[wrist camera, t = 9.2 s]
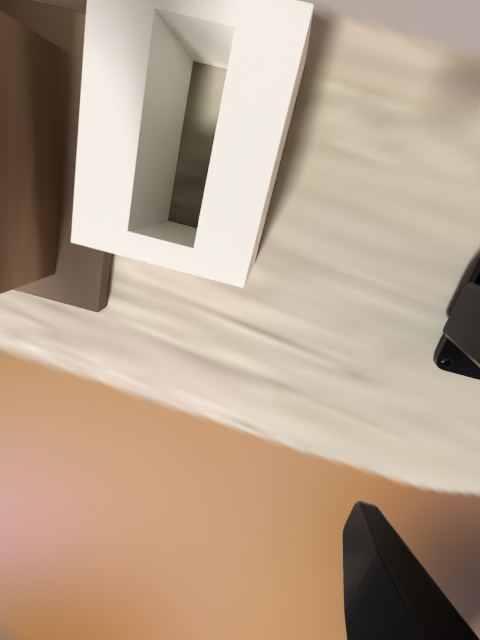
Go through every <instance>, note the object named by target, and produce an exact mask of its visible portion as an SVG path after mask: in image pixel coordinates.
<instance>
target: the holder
mask: <svg viewBox="0 0 480 640" xmlns="http://www.w3.org/2000/svg"><path fill="white" fill-rule="evenodd" d="M313 9H314V4H312V3H308V2H304V1H299V0H87V4H86V19H85V34H84V49H83V65H82V80H81V95H80V110H79V125H78V140H77V155H76V170H75V185H74V200H73V215H72V230H71V243H75V244H78V245H82V246H86V247H90V248H94V249H97V250H101V251H105V252H109V253H113V254H116V255H120V256H124V257H128V258H132V259H135V260H139V261H143V262H147V263H151V264H154V265H158V266H162V267H166V268H169V269H173V270H177V271H181V272H185V273H188V274H192V275H196V276H200V277H204V278H207V279H211V280H215V281H219V282H223V283H226V284H230V285H234V286H238V287H242V288H244V286H245V284H246V282H247V279H248V277H249V275H250V273H251V270H252V268H253V266H254V264H255V260H256V256H257V252H258V248H259V244H260V240H261V236H262V232H263V228H264V224H265V220H266V216H267V212H268V208H269V204H270V200H271V197H272V193H273V189H274V185H275V181H276V177H277V173H278V169H279V165H280V161H281V157H282V153H283V149H284V145H285V141H286V137H287V133H288V129H289V126H290V122H291V118H292V114H293V110H294V106H295V102H296V98H297V94H298V90H299V86H300V82H301V78H302V74H303V70H304V66H305V62H306V57H307V50H308V43H309V36H310V30H311V23H312V16H313ZM193 61H195V62H199V63H203V64H207V65H211V66H216V67H220V68H224V69H227V73H226V78H225V84H224V89H223V94H222V100H221V105H220V110H219V115H218V121H217V126H216V131H215V137H214V142H213V147H212V153H211V158H210V163H209V168H208V174H207V179H206V184H205V190H204V195H203V200H202V205H201V211H200V216H199V221H198V227H197V228H194V227H190V226H186V225H182V224H178V223H175V222H171V221H168V217H169V211H170V204H171V198H172V192H173V186H174V179H175V173H176V167H177V160H178V154H179V148H180V142H181V135H182V129H183V123H184V116H185V110H186V104H187V98H188V91H189V85H190V79H191V73H192V66H193Z"/></svg>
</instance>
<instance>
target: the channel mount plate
mask: <svg viewBox="0 0 480 640" xmlns="http://www.w3.org/2000/svg"><path fill="white" fill-rule="evenodd" d="M85 19H86V14H85V13H80V12H76V11H72V10H68V9H64V8H60V7H56V6H51V5H47V4H43V3H39V2H35V1H31V0H0V294H1V293H4V292H7V291H9V290H12V289H13V290H17V291H20V292H24V293H28V294H32V295H35V296H39V297H43V298H46V299H50V300H54V301H58V302H61V303H65V304H69V305H72V306H76V307H80V308H84V309H87V310H91V311H95V312H99V311H101V310H102V309H104V308H105V307H106V306H107V296H108V287H109V278H110V269H111V260H112V253H109V252H105V251H101V250H97V249H94V248H90V247H86V246H82V245H78V244H75V243H71V230H72V215H73V200H74V185H75V170H76V155H77V140H78V125H79V110H80V95H81V80H82V65H83V49H84V34H85Z"/></svg>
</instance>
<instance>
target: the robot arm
mask: <svg viewBox="0 0 480 640" xmlns="http://www.w3.org/2000/svg"><path fill="white" fill-rule="evenodd" d="M443 332H444V336H443V338H442V340H441V342H440V344H439V346H438V349H437V351H436V353H435V355H434V358H433V360H434V363H435V364H436V365H437V366H438V367H439V368H440V369H442V370H445V371H449V372H452V373H456V374H460V375H464V376H467V377H471V378H475V379H479V380H480V261H479V263H478V265H477V267H476V269H475V271H474V273H473V275H472V278H471V280H470V282H469V283H467V284H466V285H464V287H463V289H462V291H461V293H460V295H459V297H458V299H457V301H456V303H455V305H454V308H453V310H452V312H451V314H450V316H449V318H448V320H447V322H446V324H445V326H444V329H443ZM445 357H449V359H448V361H446V362H441V361H442V359H443V358H445ZM343 574H344V575H343V579H344V612H345V622H346V632H347V640H480V639H479V638H478V637H477V635H476V634H475V633H474V631H473V630H472V629H471V628H470V626H469V625H468V624H467V622H466V621H465V620H464V618H463V617H462V616H461V615H460V613H459V612H458V611H457V609H456V608H455V607H454V606H453V604H452V603H451V602H450V600H449V599H448V598H447V596H446V595H445V594H444V593H443V592H442V590H441V589H440V587H439V586H438V585H437V584H436V582H435V581H434V580H433V578H432V577H431V576H430V575H429V574H428V572H427V571H426V570H425V568H424V567H423V565H422V564H421V563H420V562H419V560H418V559H417V558H416V556H415V555H414V554H413V553H412V551H411V550H410V549H409V547H408V546H407V545H406V543H405V542H404V541H403V540H402V538H401V537H400V536H399V534H398V533H397V532H396V531H395V529H394V528H393V527H392V525H391V524H390V523H389V522H388V520H387V519H386V518H385V516H384V515H383V514H382V513H381V511H380V510H379V509H378V508H377V507H376V506H375V505H373V504H369V503H366V502H362V501H358V502H356V503H355V505H354V506H353V509H352V511H351V513H350V515H349V517H348V519H347V521H346V524H345V526H344V529H343Z"/></svg>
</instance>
